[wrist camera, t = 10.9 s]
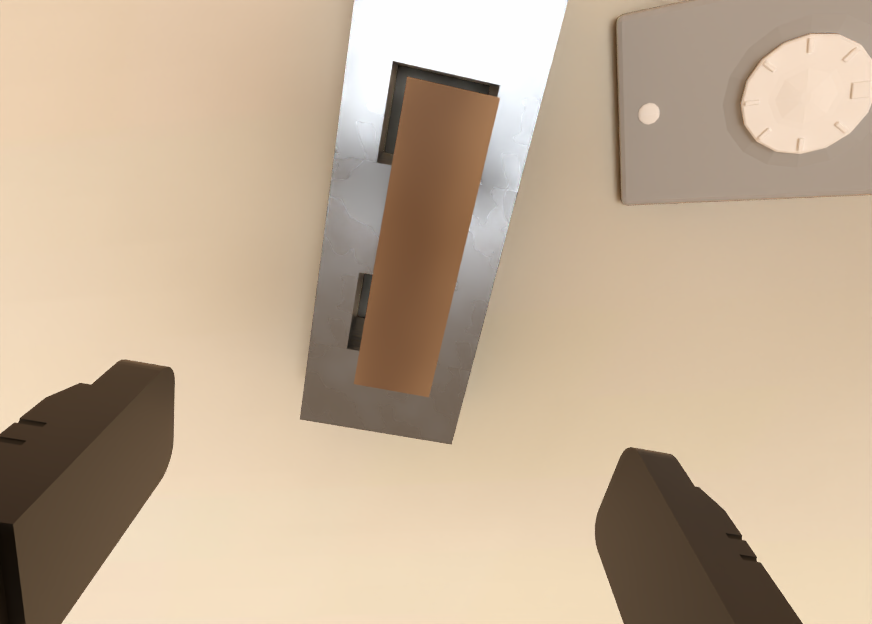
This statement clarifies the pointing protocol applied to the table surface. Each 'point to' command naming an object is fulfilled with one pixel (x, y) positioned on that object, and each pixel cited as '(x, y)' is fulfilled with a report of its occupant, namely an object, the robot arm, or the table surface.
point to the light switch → (745, 100)
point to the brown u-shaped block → (423, 233)
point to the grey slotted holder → (368, 183)
